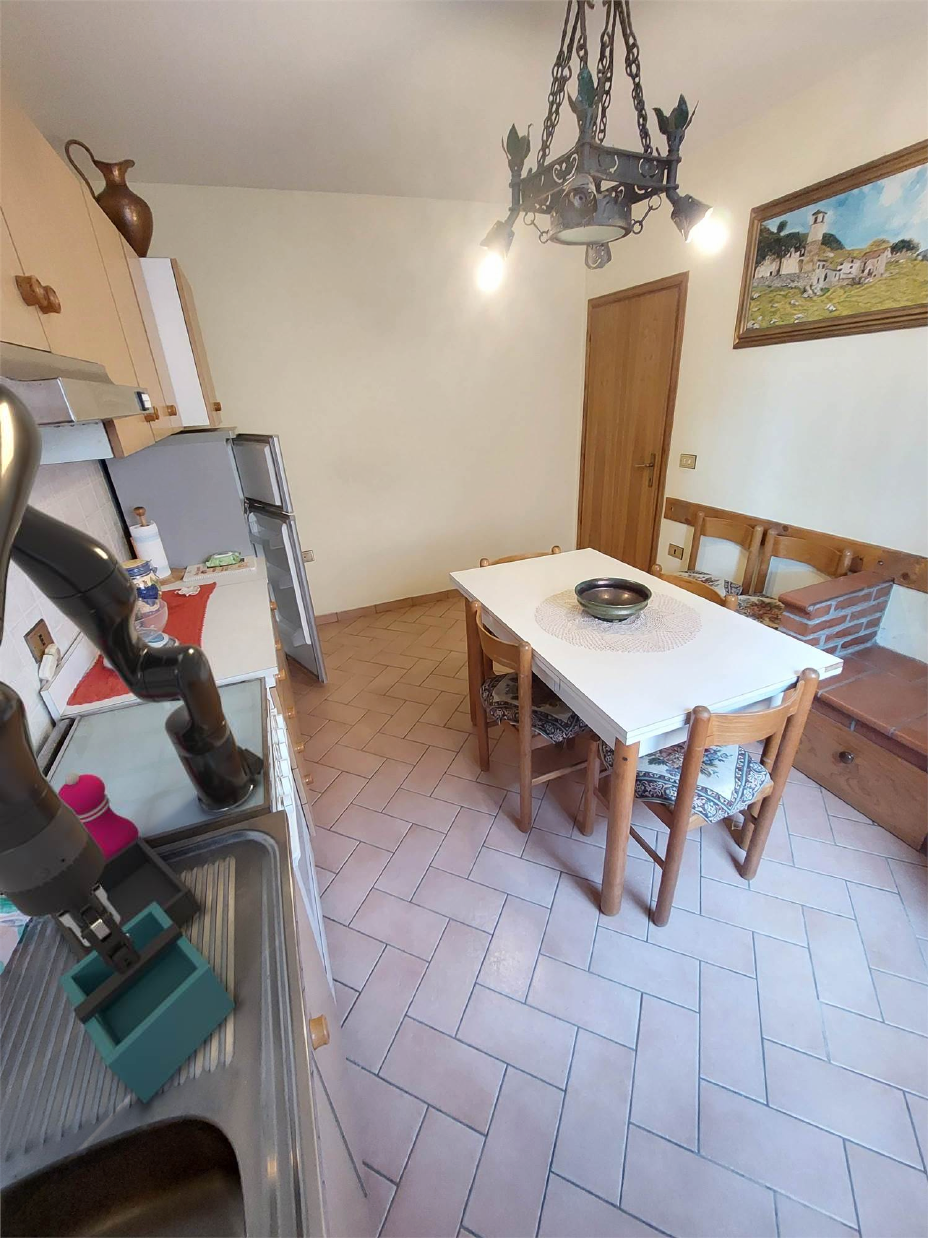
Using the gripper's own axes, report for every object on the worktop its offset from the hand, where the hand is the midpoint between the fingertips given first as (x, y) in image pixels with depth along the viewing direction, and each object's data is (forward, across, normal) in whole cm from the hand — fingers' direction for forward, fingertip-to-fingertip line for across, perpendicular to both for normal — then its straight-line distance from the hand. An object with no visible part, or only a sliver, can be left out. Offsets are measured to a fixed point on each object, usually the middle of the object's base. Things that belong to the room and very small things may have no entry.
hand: (114, 942), depth 56 cm
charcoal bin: (+16, +17, -3) cm, 24 cm away
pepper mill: (+17, +30, -7) cm, 35 cm away
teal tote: (+16, 0, 0) cm, 16 cm away
